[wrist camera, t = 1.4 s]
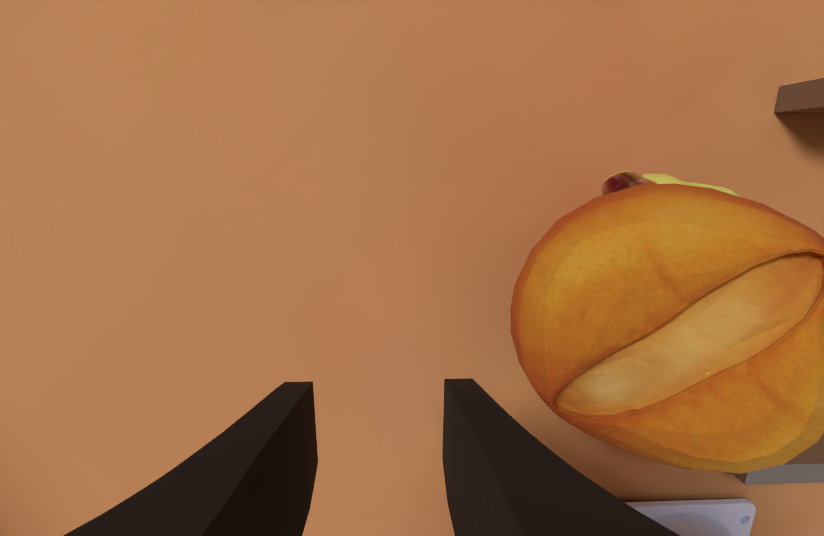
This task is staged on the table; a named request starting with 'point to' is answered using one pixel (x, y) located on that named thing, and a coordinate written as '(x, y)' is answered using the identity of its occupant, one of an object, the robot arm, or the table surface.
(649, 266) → the cheeseburger
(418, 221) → the table surface
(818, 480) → the rack
